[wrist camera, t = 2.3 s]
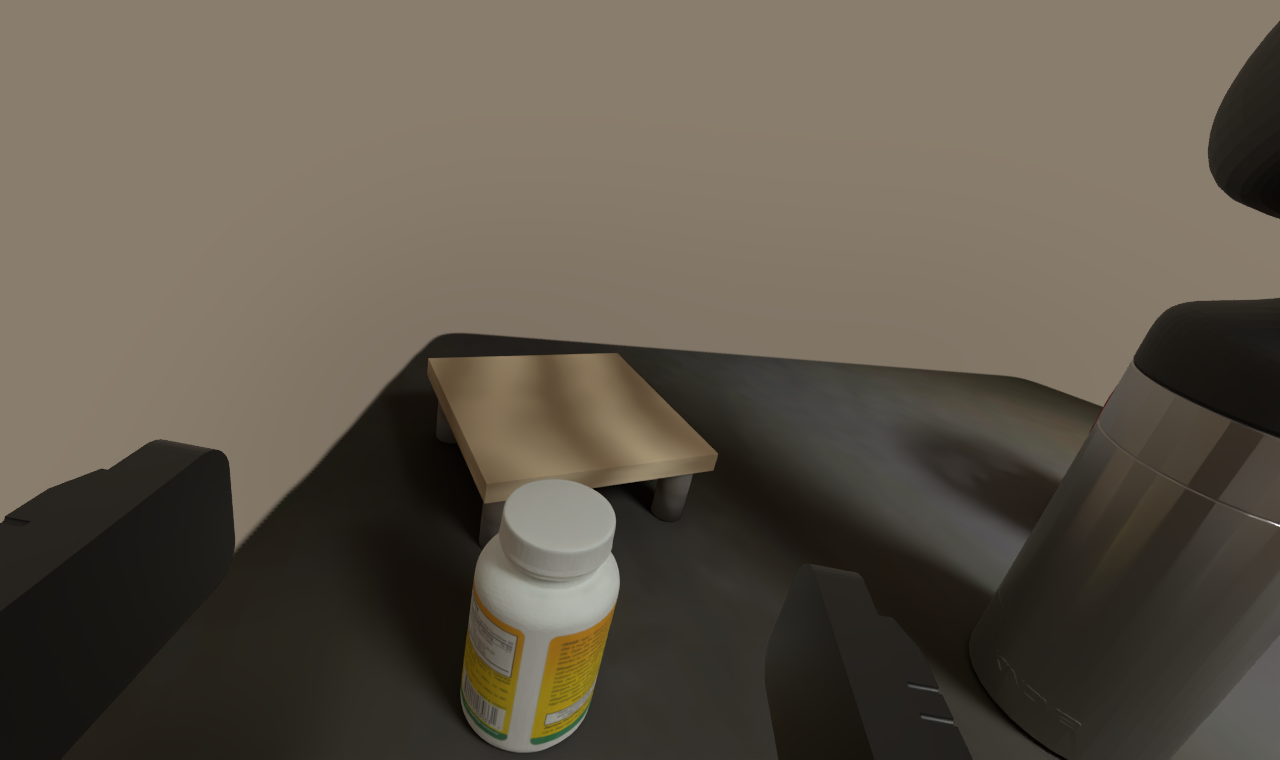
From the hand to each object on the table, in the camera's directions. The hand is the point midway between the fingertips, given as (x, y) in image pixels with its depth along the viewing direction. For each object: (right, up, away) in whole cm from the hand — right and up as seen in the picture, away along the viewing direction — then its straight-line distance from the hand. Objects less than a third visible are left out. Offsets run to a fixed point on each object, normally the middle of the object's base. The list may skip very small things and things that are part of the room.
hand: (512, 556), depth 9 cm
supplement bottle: (-3, -11, +18) cm, 21 cm away
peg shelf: (-4, -4, +33) cm, 33 cm away
